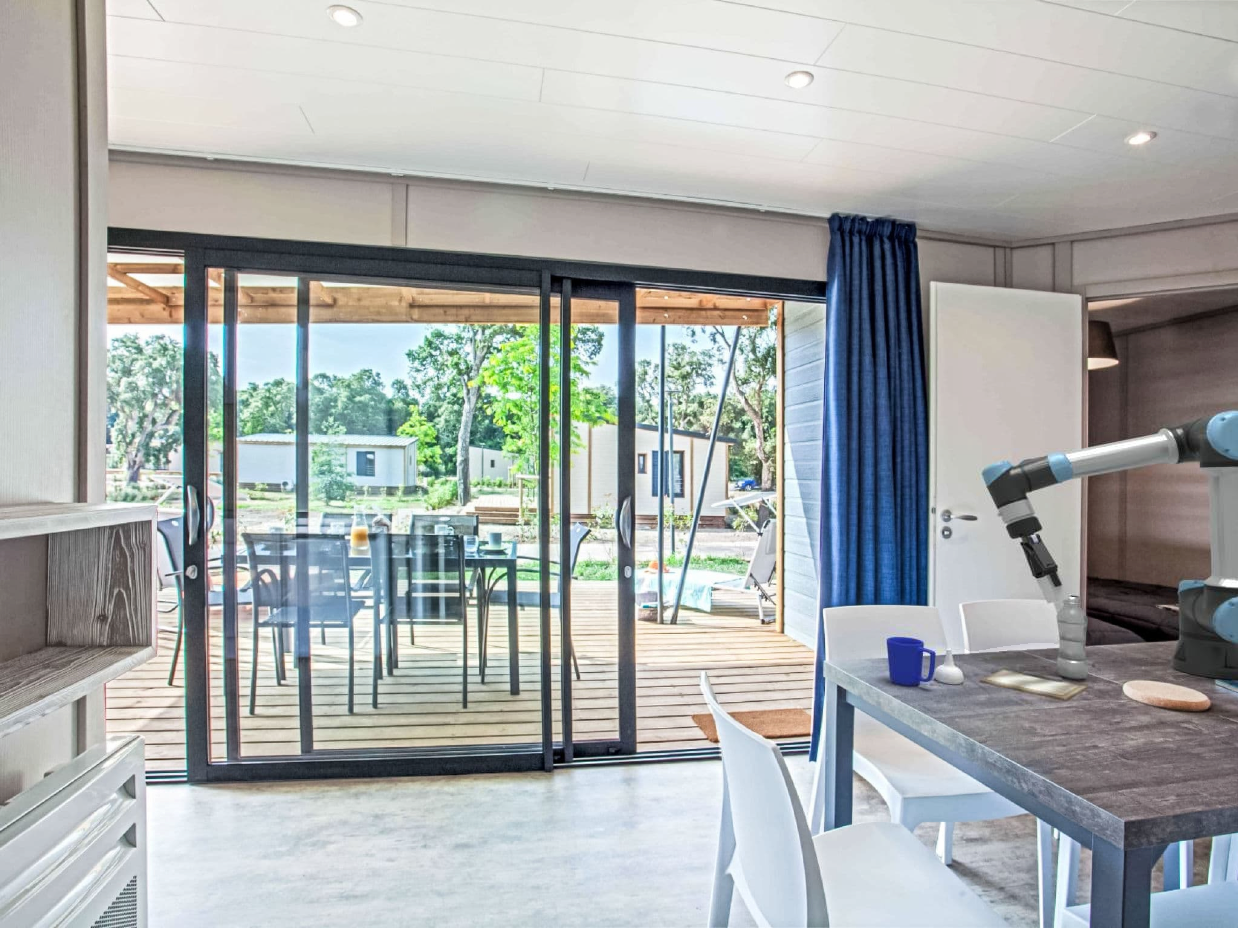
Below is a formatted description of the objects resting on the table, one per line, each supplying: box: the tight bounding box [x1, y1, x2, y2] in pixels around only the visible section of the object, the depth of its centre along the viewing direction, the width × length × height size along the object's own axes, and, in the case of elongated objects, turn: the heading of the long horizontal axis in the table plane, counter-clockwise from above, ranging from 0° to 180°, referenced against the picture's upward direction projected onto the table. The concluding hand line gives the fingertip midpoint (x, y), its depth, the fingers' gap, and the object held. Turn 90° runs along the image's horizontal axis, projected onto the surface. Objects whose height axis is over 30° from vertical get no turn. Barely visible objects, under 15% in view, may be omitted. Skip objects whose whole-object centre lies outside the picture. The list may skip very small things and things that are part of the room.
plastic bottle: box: [1056, 594, 1089, 680], centre depth 166 cm, size 6×7×20 cm
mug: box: [886, 636, 937, 687], centre depth 160 cm, size 8×12×10 cm
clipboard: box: [979, 669, 1088, 701], centre depth 160 cm, size 18×14×1 cm
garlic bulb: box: [933, 648, 964, 685], centre depth 163 cm, size 6×6×8 cm
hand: (1058, 601), depth 166 cm, fingers open, 13 cm apart
